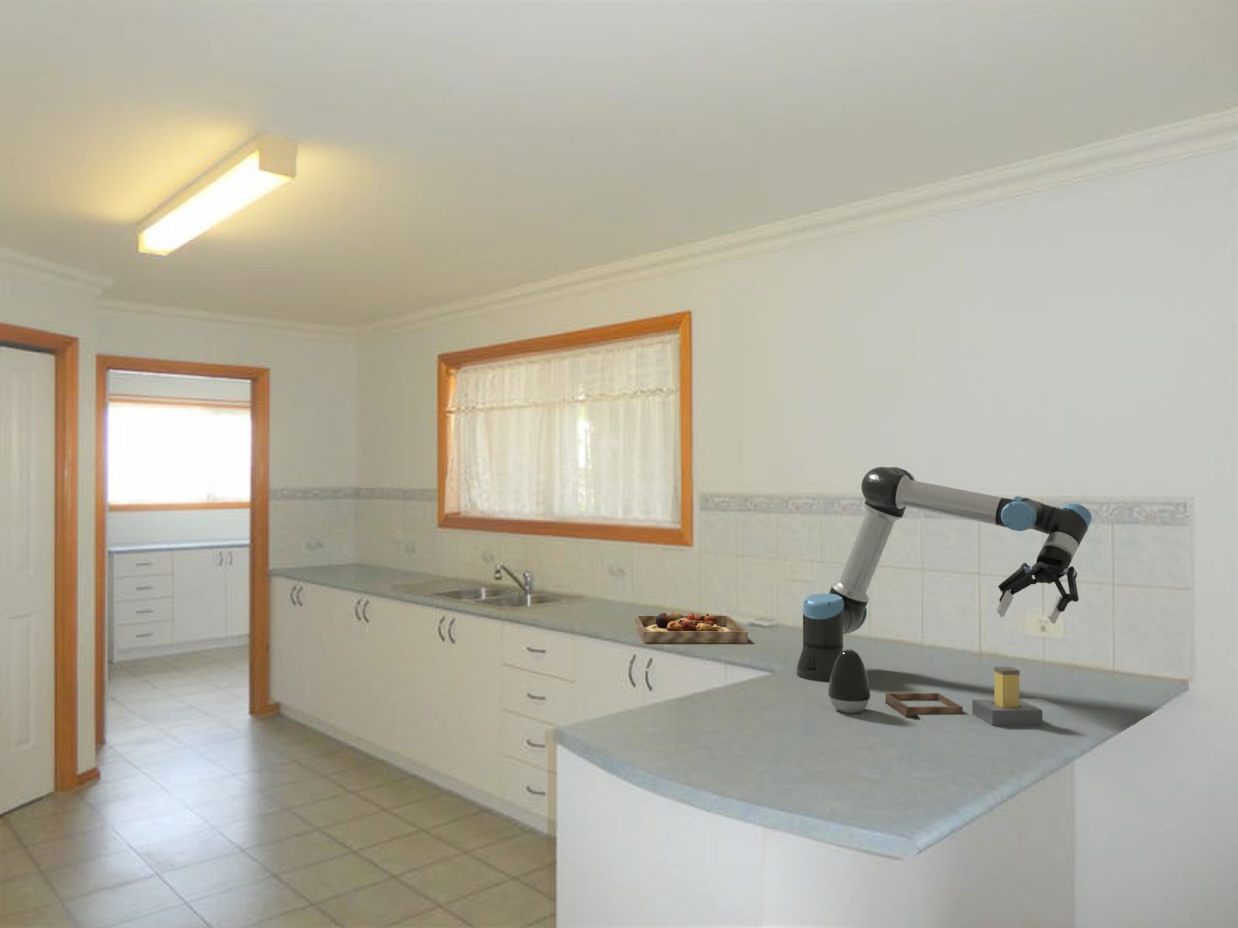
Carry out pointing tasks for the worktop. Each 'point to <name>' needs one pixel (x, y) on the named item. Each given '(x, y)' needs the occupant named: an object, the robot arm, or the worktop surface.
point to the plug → (1006, 687)
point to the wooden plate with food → (685, 623)
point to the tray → (911, 712)
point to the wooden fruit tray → (691, 632)
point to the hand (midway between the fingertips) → (1024, 616)
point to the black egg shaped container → (849, 683)
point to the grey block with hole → (1007, 714)
